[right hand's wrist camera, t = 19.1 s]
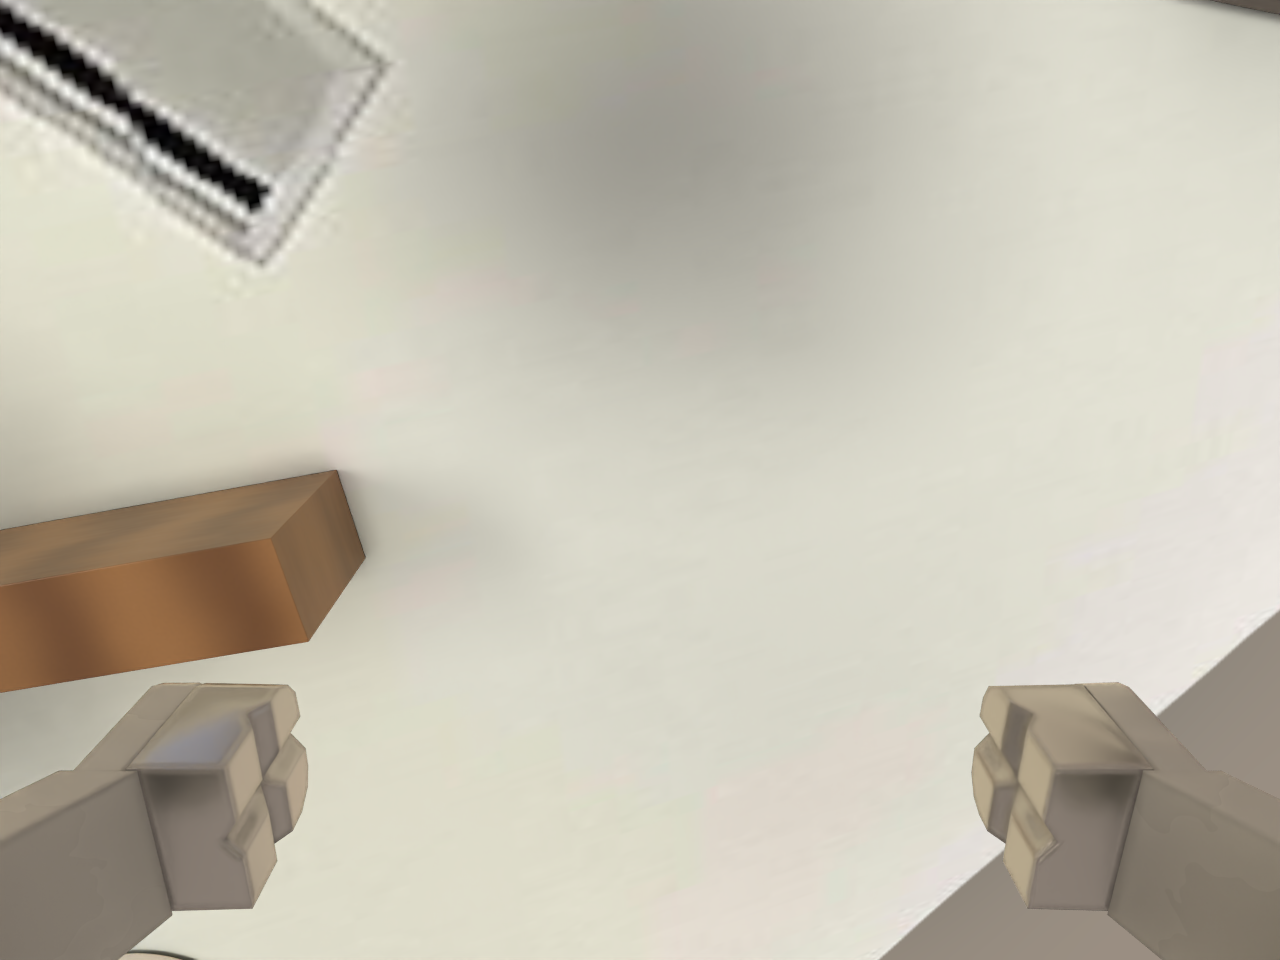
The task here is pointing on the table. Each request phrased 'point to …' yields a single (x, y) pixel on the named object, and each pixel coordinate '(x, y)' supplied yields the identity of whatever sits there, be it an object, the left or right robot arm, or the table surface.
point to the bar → (173, 580)
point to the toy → (1256, 4)
